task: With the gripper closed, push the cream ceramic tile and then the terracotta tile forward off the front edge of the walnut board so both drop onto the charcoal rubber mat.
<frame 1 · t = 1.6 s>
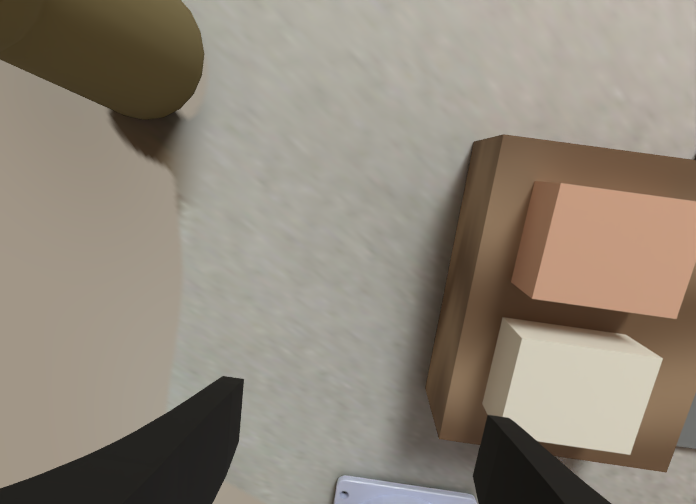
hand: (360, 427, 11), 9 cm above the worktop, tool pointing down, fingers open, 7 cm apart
walnut board: (546, 287, 19), on the worktop
olive tall rounded piece: (142, 52, 18), on the worktop
cream tile: (551, 370, 16), point 4 cm above the worktop, touching walnut board
terracotta tile: (586, 241, 15), point 4 cm above the worktop, touching walnut board
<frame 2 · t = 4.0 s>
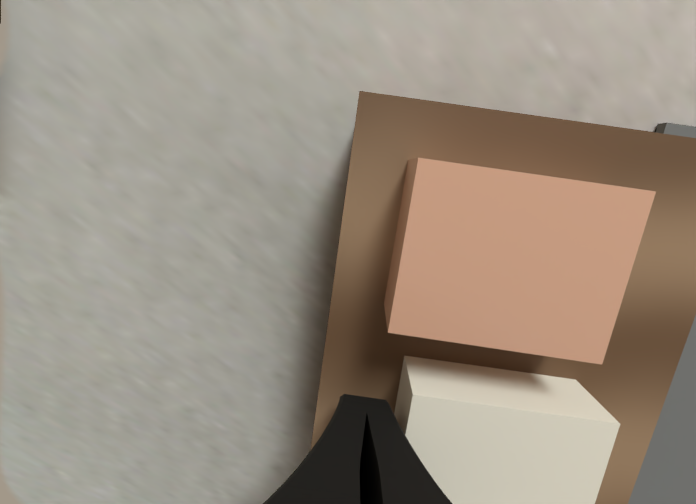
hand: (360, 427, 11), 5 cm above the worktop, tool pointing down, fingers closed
walnut board: (464, 305, 15), on the worktop
cream tile: (475, 427, 12), point 4 cm above the worktop, touching gripper, walnut board
terracotta tile: (486, 247, 10), point 4 cm above the worktop, touching walnut board
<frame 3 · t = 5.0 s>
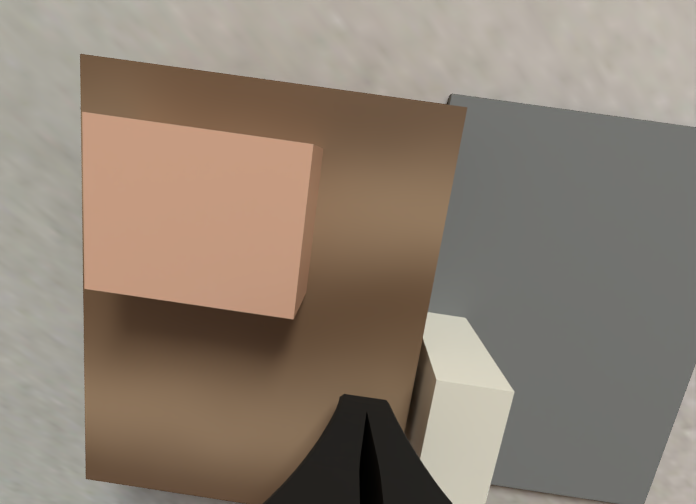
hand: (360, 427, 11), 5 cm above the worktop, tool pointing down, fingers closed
walnut board: (280, 279, 15), on the worktop
rubber mat: (552, 318, 15), on the worktop
cream tile: (412, 393, 13), point 3 cm above the worktop, tilted 90°, touching rubber mat
terracotta tile: (224, 210, 11), point 4 cm above the worktop, touching walnut board
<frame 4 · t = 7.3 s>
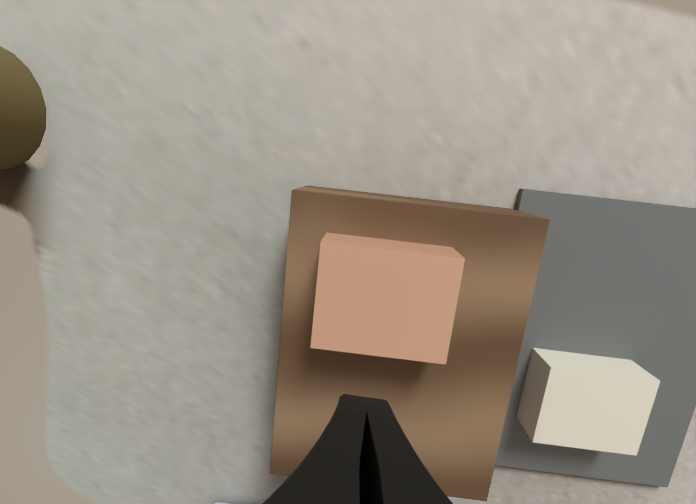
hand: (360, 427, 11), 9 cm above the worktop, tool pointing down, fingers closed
walnut board: (390, 321, 20), on the worktop
rubber mat: (596, 346, 20), on the worktop
cream tile: (594, 412, 18), point 2 cm above the worktop, tilted 180°, touching rubber mat
terracotta tile: (382, 287, 16), point 4 cm above the worktop, touching walnut board
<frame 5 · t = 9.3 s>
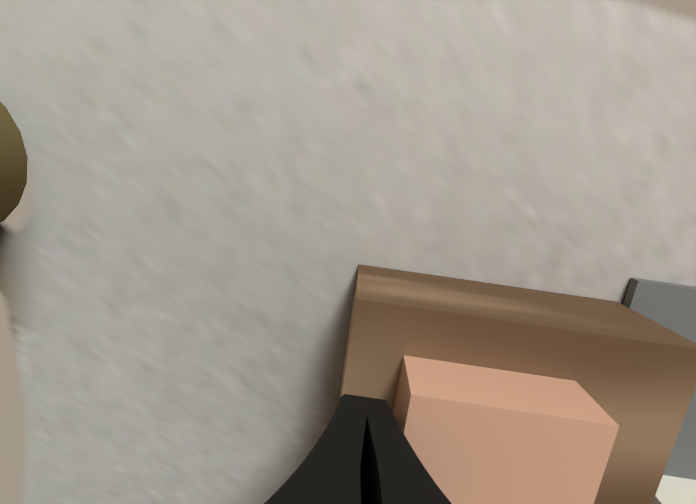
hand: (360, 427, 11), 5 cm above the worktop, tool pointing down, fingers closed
walnut board: (454, 429, 16), on the worktop
terracotta tile: (474, 427, 12), point 4 cm above the worktop, touching gripper
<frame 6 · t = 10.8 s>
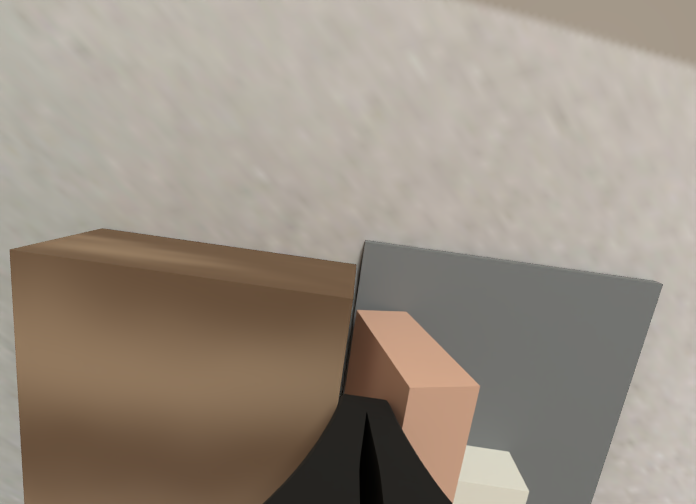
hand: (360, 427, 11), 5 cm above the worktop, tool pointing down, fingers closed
walnut board: (218, 394, 16), on the worktop
rubber mat: (469, 432, 16), on the worktop
terracotta tile: (368, 398, 12), point 3 cm above the worktop, tilted 107°, touching gripper, rubber mat
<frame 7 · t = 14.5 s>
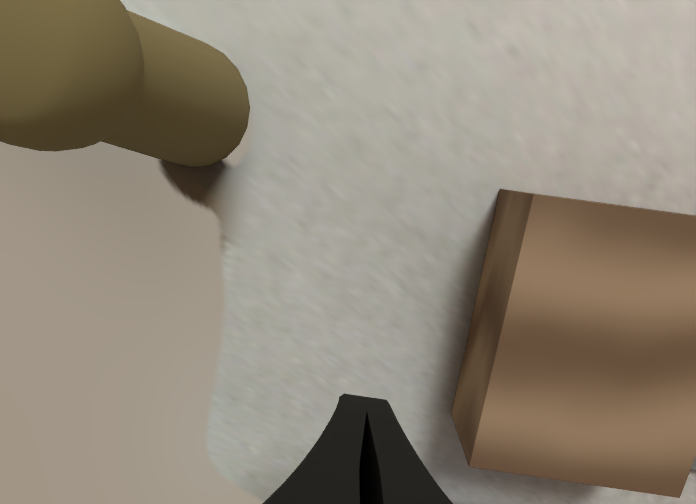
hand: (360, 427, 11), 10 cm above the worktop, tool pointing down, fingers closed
walnut board: (566, 322, 21), on the worktop
olive tall rounded piece: (191, 106, 19), on the worktop
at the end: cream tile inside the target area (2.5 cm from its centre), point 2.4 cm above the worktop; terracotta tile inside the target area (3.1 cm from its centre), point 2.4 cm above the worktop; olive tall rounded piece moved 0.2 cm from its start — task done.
